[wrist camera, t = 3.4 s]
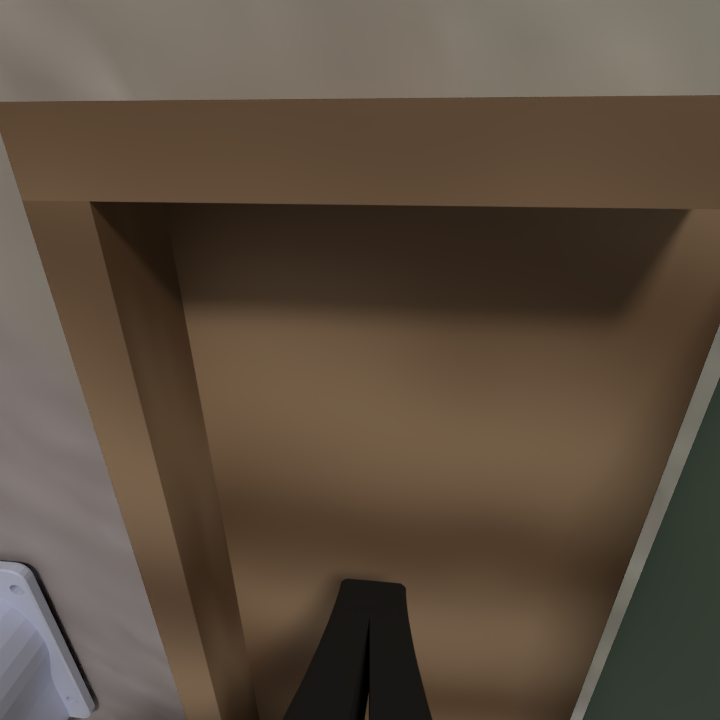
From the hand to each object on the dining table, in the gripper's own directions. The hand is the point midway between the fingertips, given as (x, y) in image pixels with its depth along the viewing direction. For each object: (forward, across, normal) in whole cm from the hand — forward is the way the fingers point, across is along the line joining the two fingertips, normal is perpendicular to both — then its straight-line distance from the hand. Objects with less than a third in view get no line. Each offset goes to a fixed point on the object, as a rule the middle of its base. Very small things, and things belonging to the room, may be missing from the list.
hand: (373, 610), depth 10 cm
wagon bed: (+3, 0, 0) cm, 4 cm away
